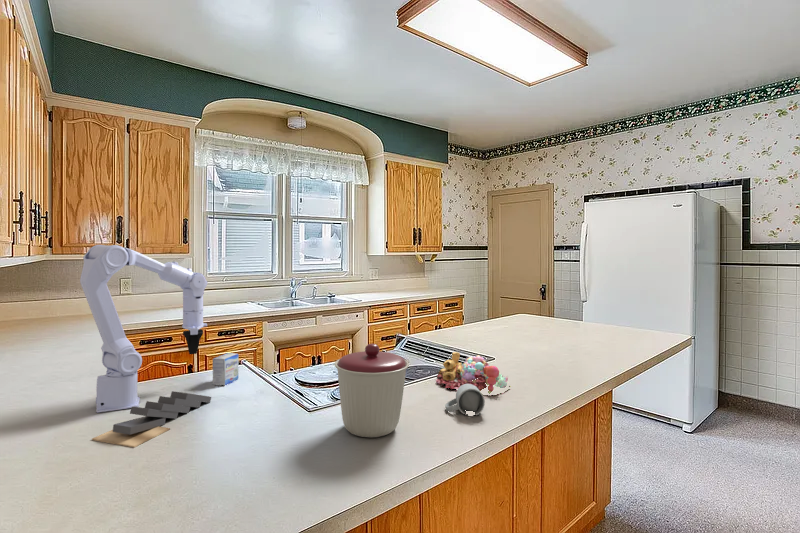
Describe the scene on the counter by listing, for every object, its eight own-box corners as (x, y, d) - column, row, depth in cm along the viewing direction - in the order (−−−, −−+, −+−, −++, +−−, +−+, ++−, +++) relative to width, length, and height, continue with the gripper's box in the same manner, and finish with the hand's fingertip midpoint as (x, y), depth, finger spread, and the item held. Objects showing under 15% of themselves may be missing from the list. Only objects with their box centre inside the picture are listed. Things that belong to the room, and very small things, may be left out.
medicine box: (224, 386, 137) (224, 359, 137) (212, 385, 138) (212, 358, 138) (238, 379, 145) (239, 353, 144) (226, 378, 146) (227, 352, 145)
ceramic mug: (479, 406, 124) (479, 380, 123) (484, 416, 116) (485, 389, 116) (443, 406, 124) (443, 380, 123) (446, 416, 116) (446, 389, 116)
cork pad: (134, 447, 94) (134, 446, 94) (91, 440, 97) (91, 438, 97) (170, 429, 104) (170, 428, 104) (130, 423, 107) (130, 422, 107)
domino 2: (176, 418, 110) (146, 416, 101) (160, 416, 112) (129, 413, 103) (178, 412, 111) (148, 409, 102) (162, 409, 112) (131, 406, 103)
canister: (380, 453, 94) (381, 356, 93) (318, 433, 103) (319, 345, 103) (420, 425, 109) (422, 342, 108) (363, 410, 119) (364, 333, 118)
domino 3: (188, 413, 114) (161, 410, 105) (172, 410, 115) (144, 407, 106) (190, 406, 115) (163, 403, 106) (174, 404, 116) (146, 401, 107)
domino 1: (164, 424, 107) (130, 434, 97) (148, 421, 108) (112, 431, 98) (165, 417, 107) (130, 427, 97) (149, 415, 108) (113, 424, 99)
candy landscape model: (426, 388, 139) (427, 360, 139) (446, 370, 161) (447, 346, 161) (505, 400, 130) (506, 369, 130) (515, 379, 152) (516, 353, 152)
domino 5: (209, 402, 122) (185, 399, 113) (195, 400, 124) (170, 397, 115) (211, 396, 123) (187, 393, 114) (196, 394, 124) (171, 391, 115)
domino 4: (199, 407, 118) (174, 404, 109) (184, 405, 120) (157, 402, 110) (201, 401, 119) (175, 398, 110) (186, 399, 120) (159, 396, 111)
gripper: (208, 313, 131) (208, 357, 131) (205, 307, 143) (205, 347, 144) (182, 314, 127) (182, 359, 128) (181, 307, 140) (181, 349, 141)
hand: (193, 353), depth 136 cm, fingers closed
